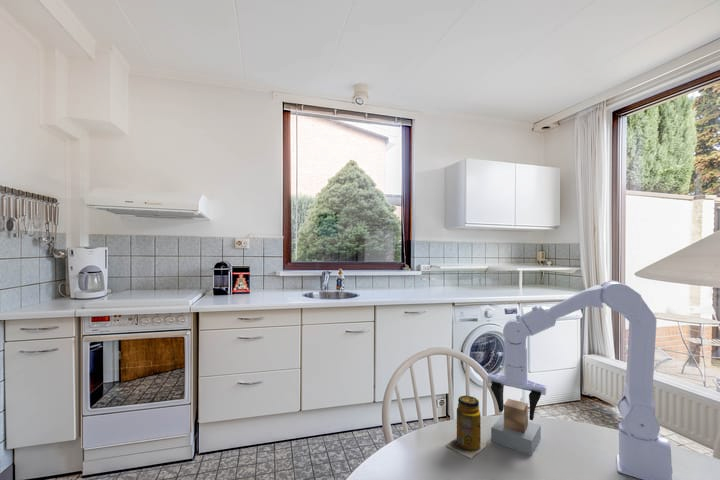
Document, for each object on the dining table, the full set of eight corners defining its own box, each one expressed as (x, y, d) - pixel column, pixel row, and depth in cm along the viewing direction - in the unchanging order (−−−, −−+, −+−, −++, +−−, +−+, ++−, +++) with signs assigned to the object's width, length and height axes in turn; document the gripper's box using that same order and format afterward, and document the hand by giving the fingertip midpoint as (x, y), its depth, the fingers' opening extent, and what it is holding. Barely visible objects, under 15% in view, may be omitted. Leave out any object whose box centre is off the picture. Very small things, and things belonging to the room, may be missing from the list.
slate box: (540, 440, 93) (540, 425, 93) (531, 457, 85) (531, 440, 86) (502, 427, 100) (502, 413, 100) (491, 442, 92) (491, 427, 92)
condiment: (487, 445, 90) (486, 399, 90) (471, 459, 84) (471, 409, 84) (462, 434, 95) (461, 391, 95) (445, 446, 89) (445, 400, 89)
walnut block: (527, 425, 93) (527, 403, 93) (524, 433, 89) (523, 410, 89) (508, 420, 96) (508, 398, 96) (504, 427, 92) (503, 405, 92)
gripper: (547, 365, 92) (548, 416, 92) (492, 355, 101) (492, 402, 100) (543, 373, 86) (544, 427, 86) (485, 361, 95) (485, 411, 94)
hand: (516, 414), depth 93 cm, fingers open, 7 cm apart
